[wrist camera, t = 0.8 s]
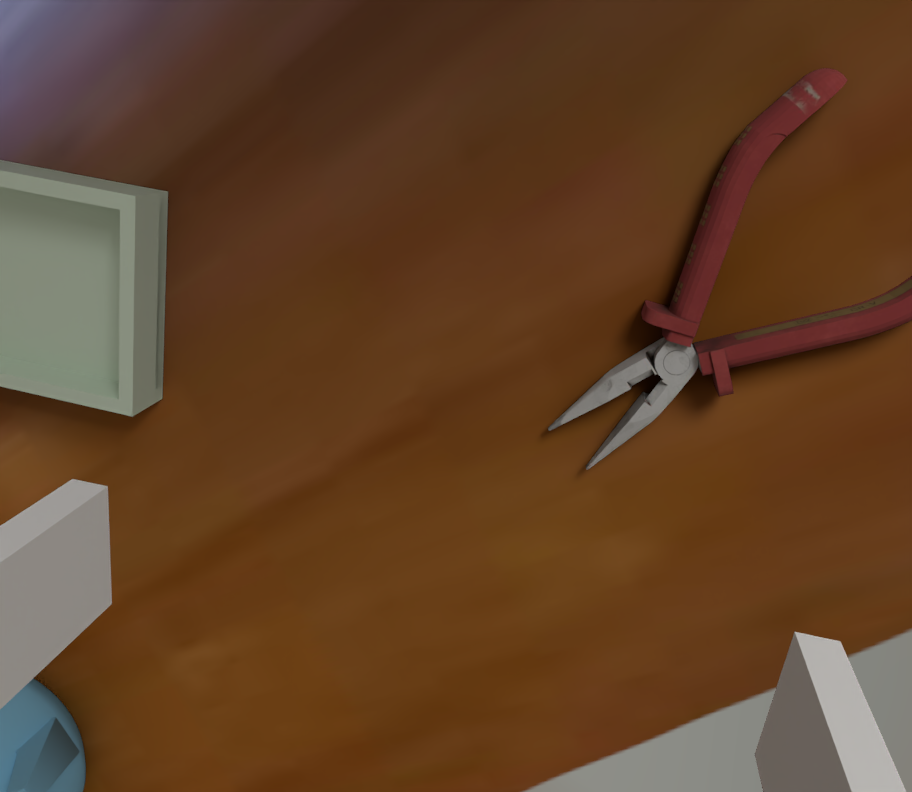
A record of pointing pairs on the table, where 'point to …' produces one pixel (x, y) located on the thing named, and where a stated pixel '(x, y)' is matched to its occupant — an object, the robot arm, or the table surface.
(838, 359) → the table surface
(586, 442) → the table surface
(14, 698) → the teapot
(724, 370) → the pliers
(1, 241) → the tray
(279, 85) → the table surface
